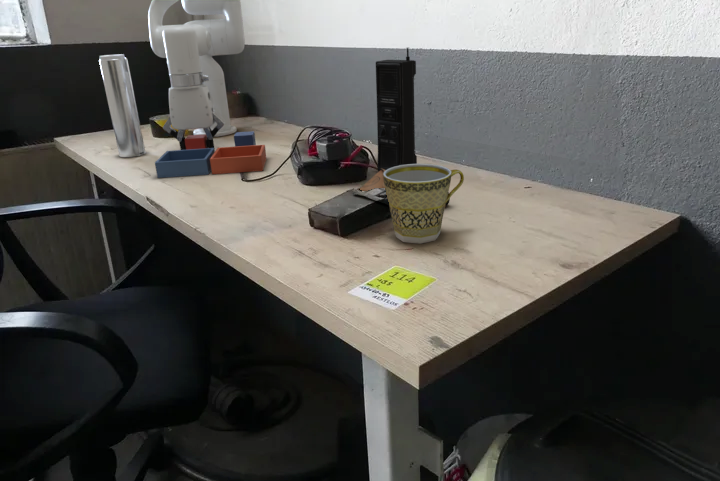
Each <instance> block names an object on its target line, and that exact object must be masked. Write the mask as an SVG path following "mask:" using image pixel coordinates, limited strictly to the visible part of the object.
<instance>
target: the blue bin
mask: <svg viewBox="0 0 720 481" xmlns="http://www.w3.org/2000/svg"><path fill="white" fill-rule="evenodd" d="M214 148H215V147H214ZM214 148H205V149H189V150H181V149H176V150H166V152H164V153H163V154H162V155H161V156H160V157H159V158H158V159H157V160H156V161H155V162H154V165H155V166H154V167H155V171H156V172H155V173H156V178H157V179H162V178H177V177H178V178H179V177H192V176H205V175H207V176H208V175H209V174H210V173H211V172H212V170H211V163H210V158H211V157H212V155H213V154H214V152H215V151H216V149H214Z"/></svg>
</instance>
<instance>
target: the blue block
mask: <svg viewBox="0 0 720 481" xmlns="http://www.w3.org/2000/svg"><path fill="white" fill-rule="evenodd" d="M233 141H234V147H235V146H251V145H257V143H256V135H255V131H254V130H251V131H236V132H235V133H234V135H233Z"/></svg>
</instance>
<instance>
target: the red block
mask: <svg viewBox="0 0 720 481" xmlns="http://www.w3.org/2000/svg"><path fill="white" fill-rule="evenodd" d="M206 140H207V136H206V134H203V135H194V134H190V135H189V134H188V135H187V136H186V137H185V145H186V150H189V149H205V148H207V145H206Z"/></svg>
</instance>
